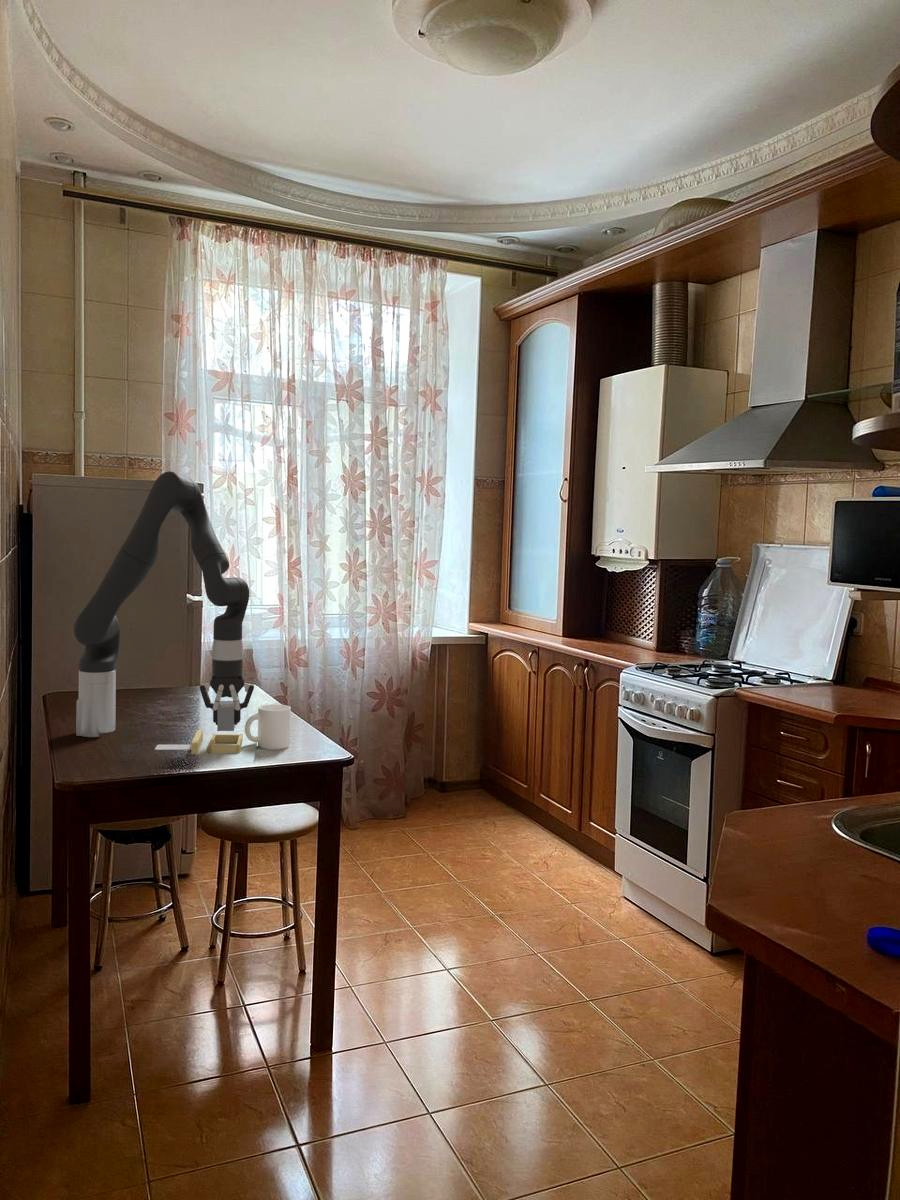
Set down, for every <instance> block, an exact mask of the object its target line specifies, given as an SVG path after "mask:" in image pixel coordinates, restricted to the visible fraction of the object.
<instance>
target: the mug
mask: <svg viewBox="0 0 900 1200" xmlns="http://www.w3.org/2000/svg"><path fill="white" fill-rule="evenodd" d="M291 708H292V707H291V706H289V705H285V704H279V703H278V704H273V703H272V704H265V705H260V706H258V708H257V711H258V712H257V713H254V714H252V715H250V716H249V718H247V720H246V721H245V725H244V734H245V736H246V738H247V739H248V740H249V741H251V742H253V743H257V746H258V748H260V749H261V750H268V751H270V750H271V751H280V750H284V749H287V748H289V747H290V744H291V743H290V742H291V716H292V715H291V714H292V711H291ZM255 721H257V736H254V735H252V733H251V725H252V723H253V722H255Z"/></svg>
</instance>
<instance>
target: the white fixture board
mask: <svg viewBox="0 0 900 1200" xmlns="http://www.w3.org/2000/svg"><path fill="white" fill-rule="evenodd" d="M243 736H244V735H243V733H240V734H239V733H237V734H236V733H235V734H232V733H224V734H223V733H217V734H216V733H215V734H214V733H213V734H212V735H211V737H210V739H209V742H208V745H207V753H208V754H216V753H218V754H225V753H226V754H230V753H231V754H233V753H234V754H240V753H241V749H242V745H243V741H244V739H243ZM203 742H204V730H202V729H197V731H196V733H195V735H194V737H193V739H192V740H191V743H190V744H156V746H155V748H154V750H157V751H159V750H160V751H161V750H162V751H163V750H164V751H166V750H167V751H168V750H171V751H174V750H175V751H177V750H178V751H179V750H180V751H181V750H182V751H185V750H186V751H187V750H189V751H191V752H190V754H191V755H197V754H198V753H199V751H200V748H201V747H202V743H203ZM216 743H217V744H216ZM218 743H219V744H218ZM220 743H221V744H220ZM223 743H224V744H223ZM229 743H231V744H229ZM235 743H236V744H235Z"/></svg>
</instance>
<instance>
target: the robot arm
mask: <svg viewBox="0 0 900 1200" xmlns="http://www.w3.org/2000/svg"><path fill="white" fill-rule="evenodd" d="M171 510H174V511H178V512H179V513H180V514H181V515H182V517H183V518H184V520H185V522H186V523H187V525H188V528H189V532H190V533H189V534H190V547H191V550H192V553H193V556H194V558H195V560H196V562H197V564H198V566H199V567H200V570H201V571H202V578H203V582H204V590H205V595H206V597H207V599H208V600H209V602H211V604H213V606H217V607H226V609H225V611H224V613H223V614H220V615H218V616H216V617H215V618H214V620H213V631H212V632H213V633H212V634H213V637H212V638H213V641H212V646H211V647H212V648H211V651H212V652H211V679H210V681H209V682H207V683H201V684H200V685H199V687H198V688H199V691H200V694H201V697H202V700H203V702H204V706H205V708H207V709H211V710H212V722H213V723H214V724H215V725H216V726H217V711H218V705H219V703H220V701H222V698H232V701H233V702H234V705H235V726H238V724H240V722H241V711H242V709H246V708H248V706H249V704H250V700H251V698H252V695H253V691H254V689H255V684H253V683H251V684H250V683H247V682H245V679H244V677H243V673H244V672H243V667H244V646H243V621H244V619H245V615H246V611H247V608H248V604H249V600H250V595H251V594H250V588H249V584H248V583H247V581H246V580H245V579H244V578H242V577H236V576H234V577H224V576H223V574H225V573H226V572H227V571H228V569H230V561H229V559H228V557H227V555H226V553H225V551H224V549H223V547H222V545H221V543H220V541H219V539H218V537H217V535H216V532H215V530H214V527H213V526H212V521H211V520H210V517H209V516H210V515H209V514H208V510H207V507H206V503H205V501H204V498H203V495H202V491H201V489H200V487H199V484H198V483H197V482H196V480H194V479H192V478H191V477H189V476H186V475H183V474H181V473H178V472H176V471H172V470H170V471H169V470H168V471H165V472H163V473H161V474H160V475H159V476H158V477H157V478H156V479H155V481H154V483H153V484H152V487H151V489H150V491H149V493H148V495H147V497H146V500H145V502H144V504H143V506H142V508H141V511H140V512H139V514H138V517H137V518H136V520H135V522H134V525H133V526H132V528H131V529H130V532H129V533H128V535H127V537H126V539H125V540H124V542H122V543H123V544H122V545H121V546H120V548H119V550H118V551H117V553H116V555H115V557H114V559H112V562H111V565H110V566H109V567H108V570H107V571H106V574H105V575H104V577H103V579H102V581H101V582H100V584H99V586H98V588H97V589H96V591H95V593H94V594H93V596H92V597H91V599H90V600H89V601H88V603H87V604H86V606H85V607H84V608H83V610H82V611H81V612H80V613H79V614H78V616H77V618H76V620H75V622H74V626H73V633H74V634H73V635H74V637H75V639H76V641H77V642H78V643H79V644H81V645H83V646H84V647H85V649H84V652H83V654H82V656H81V657H80V659H79V660H78V699H76V714H75V715H76V716H75V717H76V721H75V723H76V727H75V728H76V729H75V730H76V732H75V733H76V734H75V735H76V736H78V737H80V736H81V737H85V738H101V737H102V736H103V735H104V734H109V733H112V732H114V731H115V730H116V700H117V699H116V696H117V695H116V692H117V691H116V690H117V688H116V687H117V685H116V681H117V680H116V678H117V677H116V673H117V672H116V671H117V662H118V659H119V656H120V638H121V635H120V634H121V632H120V631H121V630H120V622H119V619H118V617H117V613H118V611H119V610H120V608H121V606H122V605H123V604H124V603H125V601H126V600H127V599H128V598H129V597H130V596H131V595H132V594H133V593H134V592H135V591H136V590H137V589H138V588H139V587H140V586H141V584H143V582H144V581H145V579H146V578H147V576H148V575H149V573H150V571H151V570H152V568H153V566H155V565H154V564H155V563H156V561H157V558H158V556H159V551H160V535H161V534H160V532H161V528H162V526H163V524H164V521H165V519H166V518H167V517H168V514H169V513H170V512H171ZM210 688H211V689H212V691H213V692H214V693H215V694H216V695H215V698H214V702H212V701H211V698H210V696H209V691H210ZM243 688H244V691H245V693H246V695H245V697H244V700H243V702H241V701H240V698H239V693H240V692H241V690H242V689H243Z"/></svg>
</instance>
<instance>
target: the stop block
mask: <svg viewBox="0 0 900 1200" xmlns="http://www.w3.org/2000/svg"><path fill="white" fill-rule="evenodd" d="M216 726H217V727H216V731H217V732H235V729H236V725H235V705H234V702H233V700H220V703H219V705H218V711H217V725H216Z"/></svg>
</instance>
